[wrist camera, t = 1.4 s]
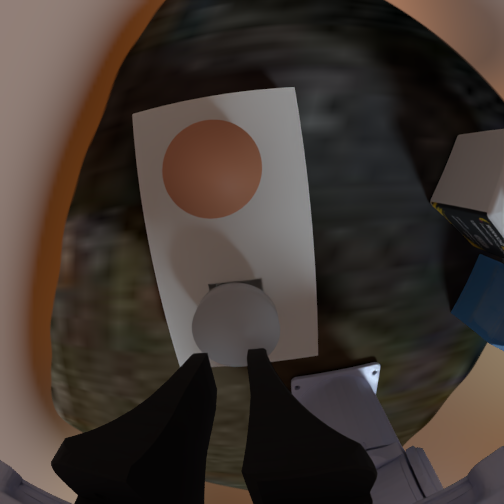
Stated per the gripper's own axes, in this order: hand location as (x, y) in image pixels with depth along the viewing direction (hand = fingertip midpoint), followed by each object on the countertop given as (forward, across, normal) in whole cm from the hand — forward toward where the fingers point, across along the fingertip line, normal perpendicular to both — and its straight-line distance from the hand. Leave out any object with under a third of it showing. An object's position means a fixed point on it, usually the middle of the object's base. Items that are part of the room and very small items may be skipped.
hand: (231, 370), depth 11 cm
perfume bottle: (+10, -23, +4) cm, 25 cm away
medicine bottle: (+10, -20, -6) cm, 23 cm away
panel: (+9, 0, -4) cm, 10 cm away
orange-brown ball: (+7, 0, -8) cm, 11 cm away
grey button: (+7, 0, 0) cm, 7 cm away
